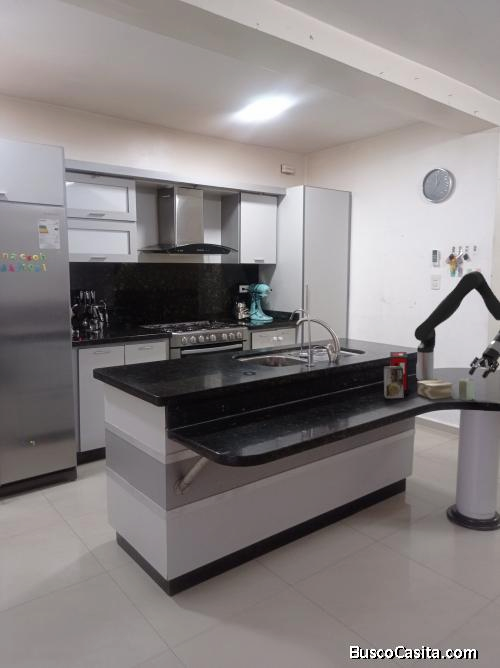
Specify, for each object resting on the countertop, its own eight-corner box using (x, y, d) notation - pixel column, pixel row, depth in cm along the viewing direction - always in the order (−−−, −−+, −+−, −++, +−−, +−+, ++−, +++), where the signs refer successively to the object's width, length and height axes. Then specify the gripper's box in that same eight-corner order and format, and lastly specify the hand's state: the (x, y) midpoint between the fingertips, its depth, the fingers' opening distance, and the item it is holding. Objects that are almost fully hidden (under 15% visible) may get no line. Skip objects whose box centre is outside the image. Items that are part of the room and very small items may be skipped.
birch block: (416, 394, 261) (416, 381, 260) (436, 391, 265) (436, 378, 264) (431, 399, 249) (431, 386, 248) (452, 396, 253) (452, 383, 252)
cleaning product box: (407, 393, 263) (407, 357, 260) (390, 393, 265) (390, 357, 262) (406, 386, 278) (406, 352, 276) (390, 386, 281) (390, 352, 278)
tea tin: (458, 398, 248) (458, 379, 247) (466, 397, 250) (466, 378, 249) (466, 400, 243) (466, 381, 242) (474, 399, 245) (474, 380, 244)
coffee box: (401, 395, 260) (401, 365, 258) (403, 398, 254) (403, 367, 252) (383, 395, 261) (383, 366, 259) (386, 398, 254) (385, 368, 252)
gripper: (478, 345, 255) (461, 369, 253) (501, 348, 242) (483, 373, 240) (486, 354, 258) (469, 377, 255) (509, 358, 245) (491, 382, 242)
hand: (476, 375), depth 247 cm, fingers open, 8 cm apart
